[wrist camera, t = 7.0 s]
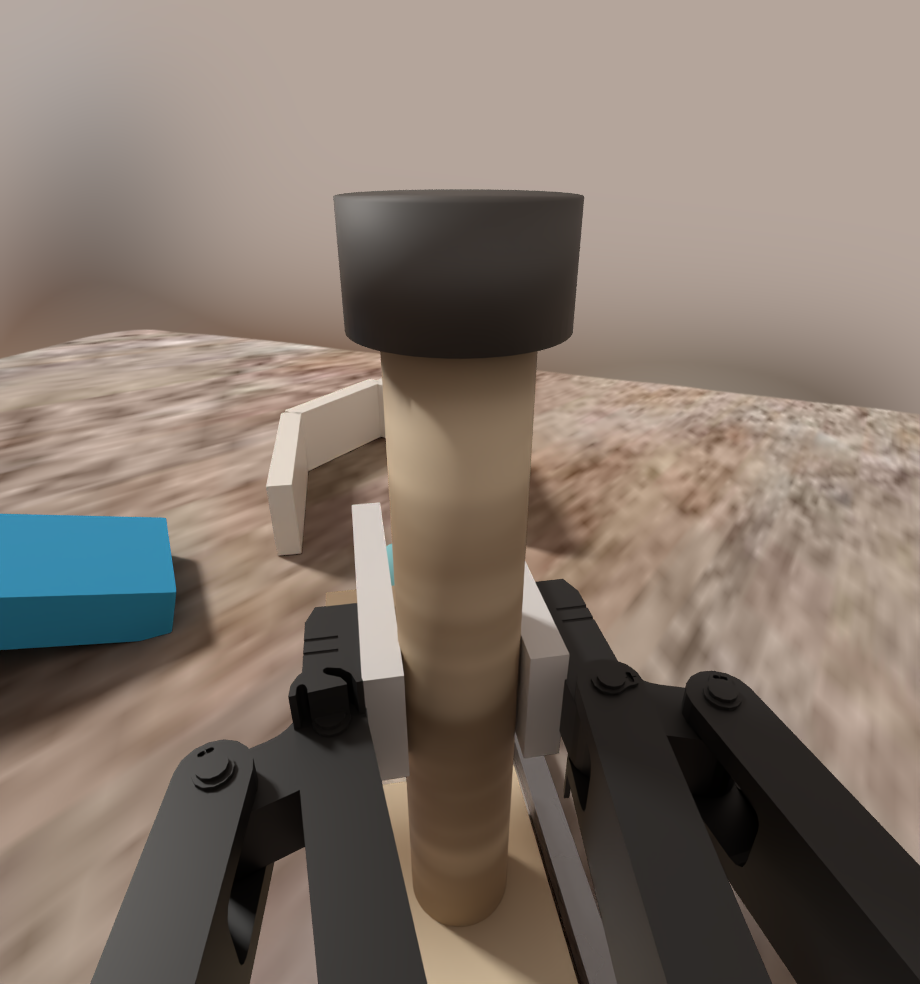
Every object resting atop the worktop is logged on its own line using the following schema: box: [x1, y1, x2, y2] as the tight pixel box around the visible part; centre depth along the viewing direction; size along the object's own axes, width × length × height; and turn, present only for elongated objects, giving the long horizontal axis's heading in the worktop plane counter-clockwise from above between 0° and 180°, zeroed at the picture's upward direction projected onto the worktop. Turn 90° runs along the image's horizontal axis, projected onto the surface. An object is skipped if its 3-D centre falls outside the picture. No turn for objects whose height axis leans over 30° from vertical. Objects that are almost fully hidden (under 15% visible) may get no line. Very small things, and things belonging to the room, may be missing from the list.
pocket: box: [266, 378, 386, 556], centre depth 39 cm, size 16×12×4 cm
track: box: [514, 732, 617, 984], centre depth 16 cm, size 18×7×1 cm, turn 10°
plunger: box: [326, 190, 584, 984], centre depth 15 cm, size 12×6×17 cm, turn 10°
